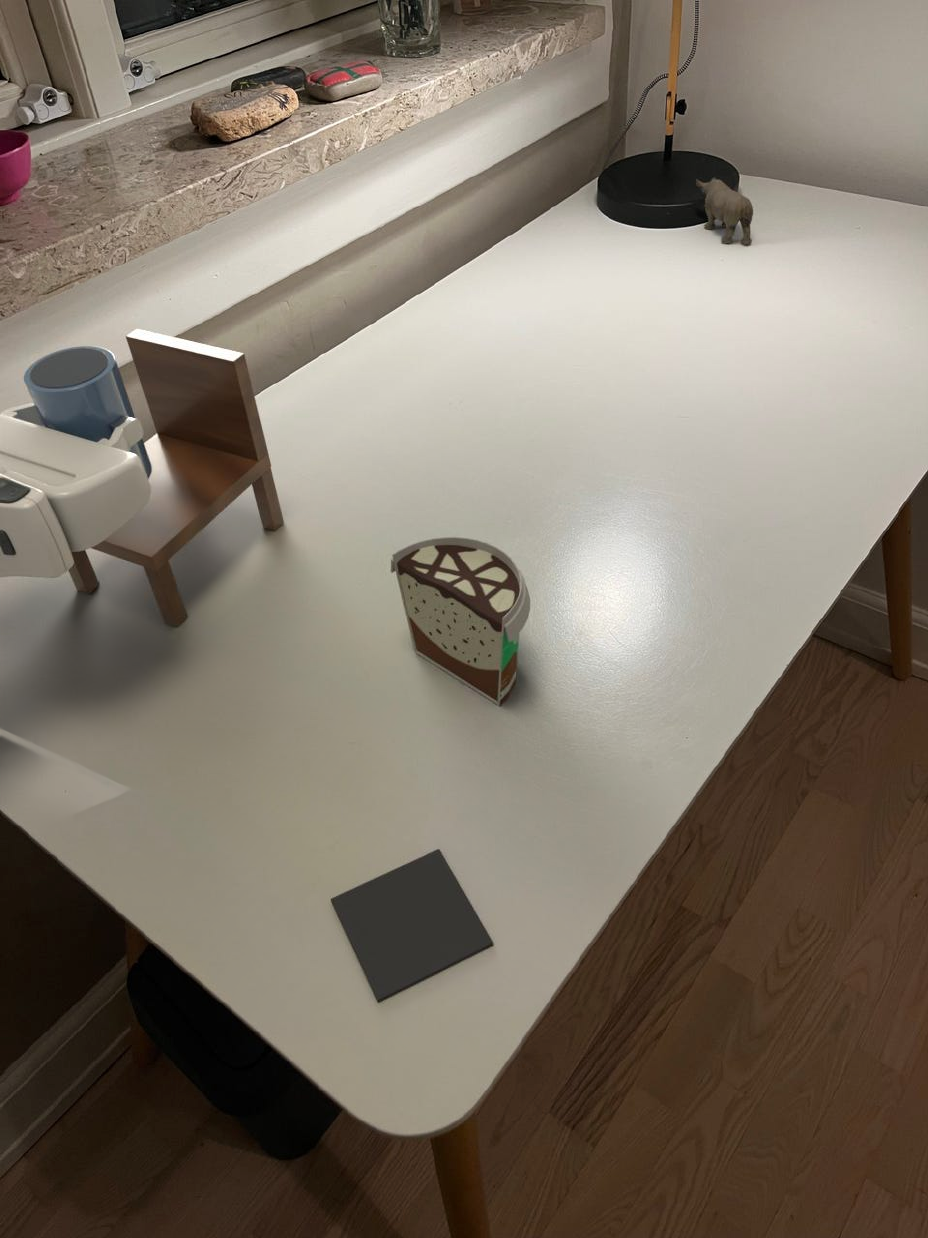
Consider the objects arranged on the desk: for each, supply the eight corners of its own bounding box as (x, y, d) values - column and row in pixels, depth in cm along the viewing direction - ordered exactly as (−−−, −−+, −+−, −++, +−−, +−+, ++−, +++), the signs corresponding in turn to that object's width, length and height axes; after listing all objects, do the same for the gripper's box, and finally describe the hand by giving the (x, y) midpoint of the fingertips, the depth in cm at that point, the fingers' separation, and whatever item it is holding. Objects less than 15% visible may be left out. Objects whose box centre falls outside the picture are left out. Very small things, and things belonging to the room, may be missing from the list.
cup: (76, 511, 81) (30, 400, 74) (61, 469, 86) (16, 360, 79) (160, 484, 83) (123, 373, 76) (141, 444, 88) (104, 336, 81)
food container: (564, 670, 82) (564, 576, 75) (514, 716, 79) (508, 621, 72) (452, 604, 88) (443, 512, 82) (401, 644, 85) (387, 551, 79)
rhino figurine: (707, 206, 145) (711, 162, 141) (757, 243, 135) (763, 197, 131) (681, 212, 144) (684, 168, 140) (729, 250, 134) (734, 204, 130)
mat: (378, 1003, 63) (377, 1000, 63) (331, 901, 68) (330, 898, 68) (493, 945, 65) (493, 942, 65) (439, 851, 71) (438, 848, 70)
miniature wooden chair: (177, 628, 89) (113, 454, 76) (75, 590, 93) (0, 420, 81) (285, 522, 99) (244, 353, 86) (188, 492, 103) (136, 328, 91)
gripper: (-116, 512, 79) (19, 420, 87) (77, 584, 71) (205, 476, 79) (-156, 442, 75) (-10, 353, 83) (45, 511, 66) (184, 404, 75)
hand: (96, 413), depth 81 cm, fingers closed on cup, 7 cm apart
